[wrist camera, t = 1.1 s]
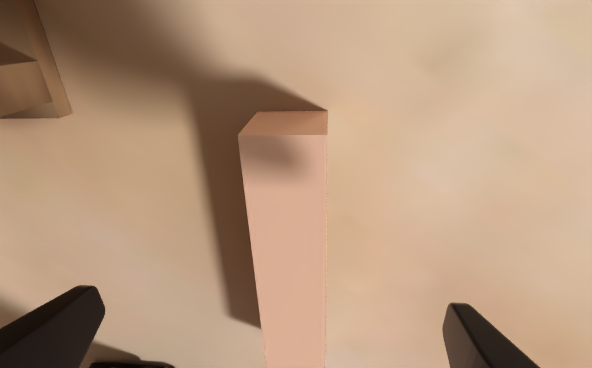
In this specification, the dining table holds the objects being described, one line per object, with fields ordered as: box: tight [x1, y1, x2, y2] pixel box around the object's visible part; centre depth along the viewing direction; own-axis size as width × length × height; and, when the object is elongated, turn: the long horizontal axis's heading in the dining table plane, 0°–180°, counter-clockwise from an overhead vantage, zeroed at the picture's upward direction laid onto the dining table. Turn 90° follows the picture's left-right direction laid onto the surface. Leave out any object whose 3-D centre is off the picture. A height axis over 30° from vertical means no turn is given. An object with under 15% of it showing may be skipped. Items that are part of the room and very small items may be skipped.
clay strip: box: [238, 111, 328, 368], centre depth 15 cm, size 14×3×4 cm, turn 2°
